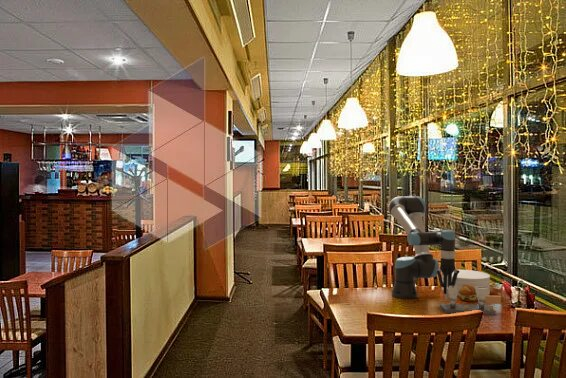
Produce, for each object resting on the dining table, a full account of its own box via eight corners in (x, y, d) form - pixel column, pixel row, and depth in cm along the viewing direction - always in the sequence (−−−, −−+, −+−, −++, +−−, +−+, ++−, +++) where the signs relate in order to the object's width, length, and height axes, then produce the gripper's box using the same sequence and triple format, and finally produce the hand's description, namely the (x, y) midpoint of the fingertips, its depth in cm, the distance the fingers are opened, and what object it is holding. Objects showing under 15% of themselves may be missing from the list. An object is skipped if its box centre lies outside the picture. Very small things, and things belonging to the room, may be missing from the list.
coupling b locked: (478, 303, 248) (478, 287, 248) (475, 301, 253) (475, 286, 253) (501, 304, 247) (502, 288, 247) (498, 302, 252) (498, 286, 251)
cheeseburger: (480, 299, 274) (479, 283, 272) (473, 307, 267) (472, 291, 265) (464, 295, 282) (463, 280, 280) (456, 303, 274) (455, 287, 272)
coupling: (456, 303, 249) (457, 287, 249) (448, 302, 251) (448, 286, 250) (457, 298, 260) (457, 282, 260) (449, 297, 262) (449, 282, 262)
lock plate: (445, 313, 246) (445, 302, 246) (439, 306, 258) (439, 296, 258) (495, 314, 244) (495, 303, 244) (487, 308, 256) (487, 297, 256)
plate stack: (486, 299, 275) (486, 280, 274) (438, 293, 289) (438, 275, 289) (492, 290, 298) (492, 272, 298) (447, 284, 313) (448, 267, 313)
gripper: (438, 258, 255) (438, 301, 255) (461, 259, 255) (461, 301, 255) (433, 256, 262) (433, 297, 263) (456, 256, 262) (455, 297, 263)
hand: (447, 299), depth 259 cm, fingers closed
